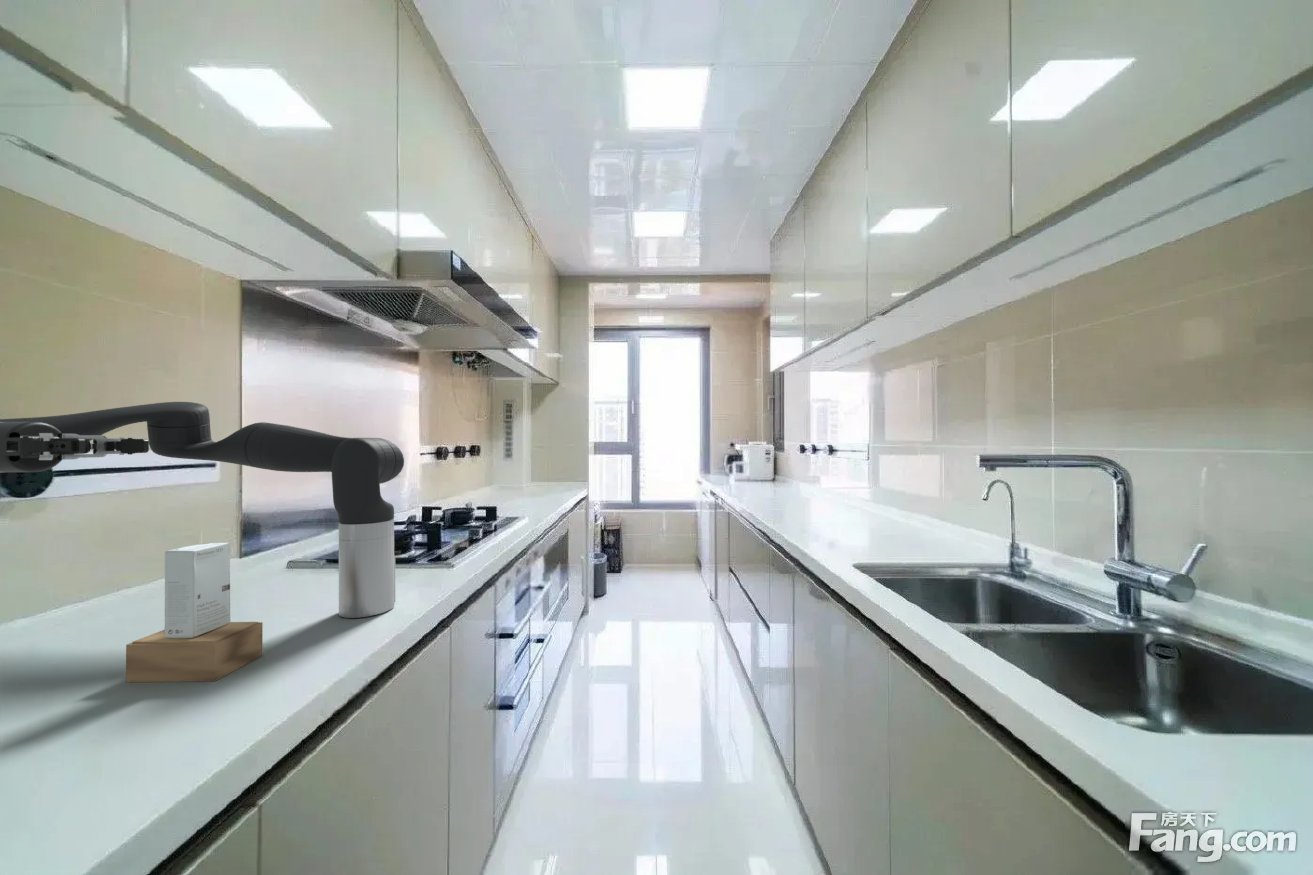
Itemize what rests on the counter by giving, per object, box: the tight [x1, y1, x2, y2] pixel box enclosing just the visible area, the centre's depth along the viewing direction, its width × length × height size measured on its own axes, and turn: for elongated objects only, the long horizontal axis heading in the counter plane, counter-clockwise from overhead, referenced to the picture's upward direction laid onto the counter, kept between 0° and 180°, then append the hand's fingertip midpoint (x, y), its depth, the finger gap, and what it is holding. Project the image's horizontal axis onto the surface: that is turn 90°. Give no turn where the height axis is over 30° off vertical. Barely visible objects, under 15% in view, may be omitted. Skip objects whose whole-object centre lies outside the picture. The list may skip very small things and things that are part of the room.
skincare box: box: [164, 542, 231, 638], centre depth 70 cm, size 6×4×12 cm
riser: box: [125, 621, 263, 683], centre depth 70 cm, size 8×12×5 cm, turn 90°
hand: (116, 445), depth 72 cm, fingers open, 8 cm apart
